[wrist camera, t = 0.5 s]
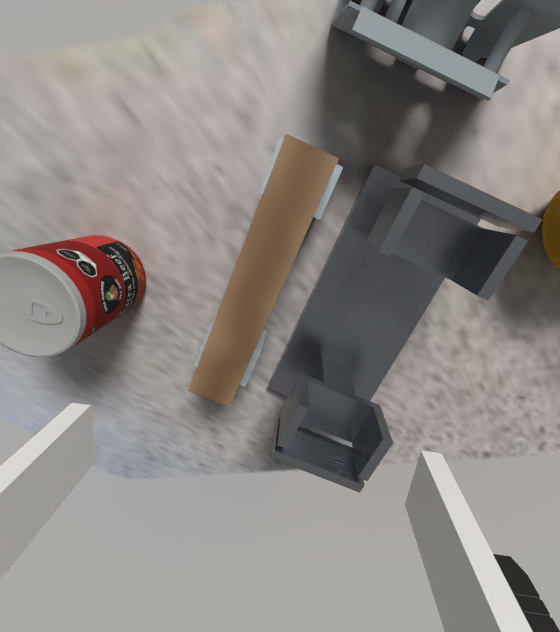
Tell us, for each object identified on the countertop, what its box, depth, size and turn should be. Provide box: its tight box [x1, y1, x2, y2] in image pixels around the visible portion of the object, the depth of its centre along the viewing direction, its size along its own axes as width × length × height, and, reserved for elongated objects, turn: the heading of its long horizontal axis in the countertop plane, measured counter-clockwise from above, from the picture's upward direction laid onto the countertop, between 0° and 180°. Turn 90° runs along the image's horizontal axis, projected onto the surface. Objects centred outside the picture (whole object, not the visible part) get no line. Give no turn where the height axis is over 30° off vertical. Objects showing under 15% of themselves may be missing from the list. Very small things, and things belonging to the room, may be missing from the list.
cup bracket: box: [268, 164, 542, 492], centre depth 29 cm, size 10×23×11 cm, turn 157°
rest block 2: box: [259, 138, 343, 220], centre depth 28 cm, size 5×4×5 cm
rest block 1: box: [194, 318, 267, 387], centre depth 33 cm, size 5×4×5 cm
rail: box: [188, 134, 339, 407], centre depth 27 cm, size 4×20×4 cm, turn 157°
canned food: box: [0, 235, 146, 357], centre depth 29 cm, size 8×8×11 cm
